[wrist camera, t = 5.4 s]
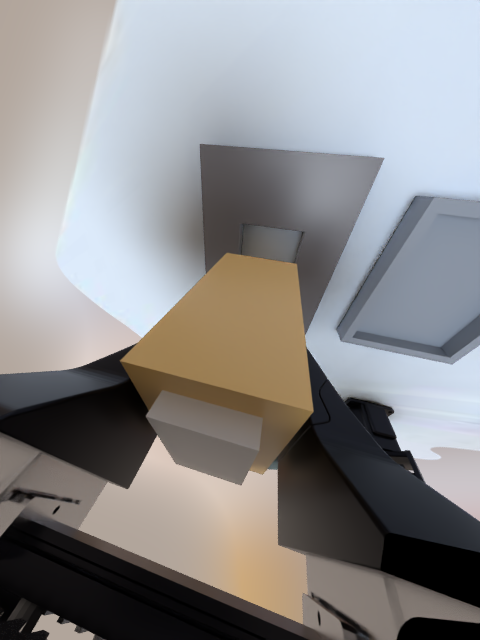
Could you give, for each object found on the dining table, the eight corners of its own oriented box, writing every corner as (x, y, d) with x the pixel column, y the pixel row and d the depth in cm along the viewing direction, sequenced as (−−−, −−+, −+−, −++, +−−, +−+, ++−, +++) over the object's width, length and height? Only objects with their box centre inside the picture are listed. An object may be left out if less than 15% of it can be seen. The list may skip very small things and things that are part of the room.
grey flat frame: (301, 332, 21) (302, 341, 20) (212, 314, 23) (208, 320, 22) (374, 161, 11) (384, 157, 10) (207, 148, 13) (199, 144, 12)
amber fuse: (275, 336, 13) (260, 496, 6) (224, 325, 13) (160, 462, 7) (296, 263, 9) (318, 451, 3) (226, 252, 10) (95, 385, 3)
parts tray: (438, 350, 19) (452, 364, 17) (336, 329, 20) (340, 341, 18) (603, 215, 11) (657, 219, 9) (415, 196, 12) (434, 197, 10)
